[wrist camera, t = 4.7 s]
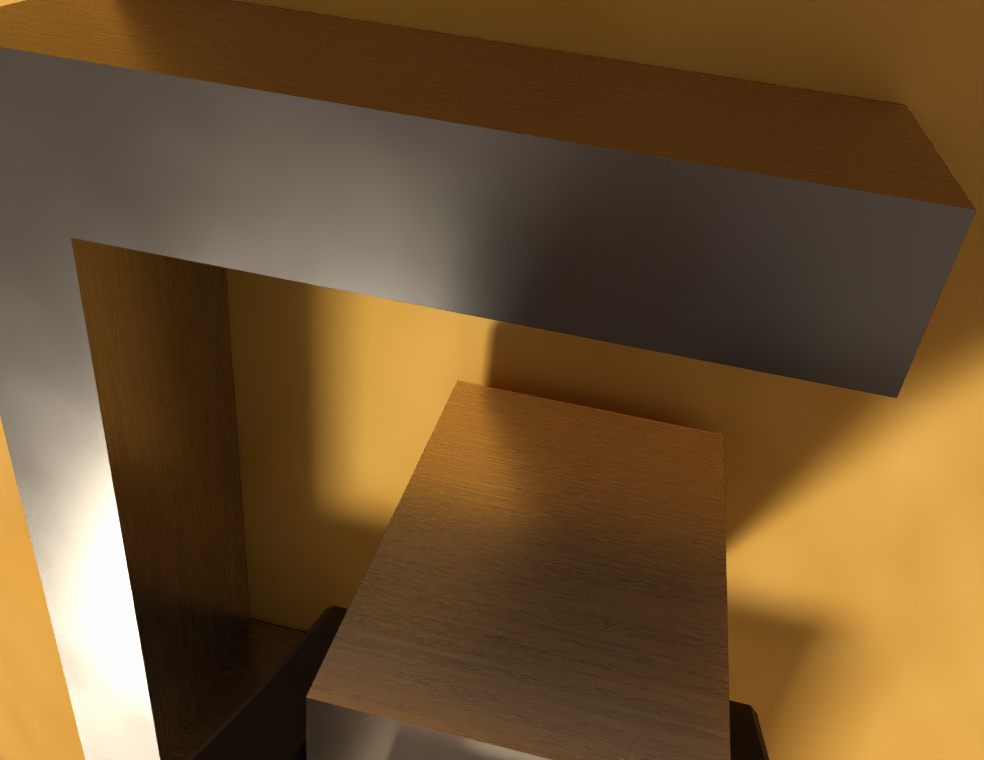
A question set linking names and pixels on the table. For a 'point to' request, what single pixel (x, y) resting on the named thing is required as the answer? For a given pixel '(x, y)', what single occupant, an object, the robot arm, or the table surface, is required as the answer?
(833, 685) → the table surface
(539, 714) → the block
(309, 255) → the rail
